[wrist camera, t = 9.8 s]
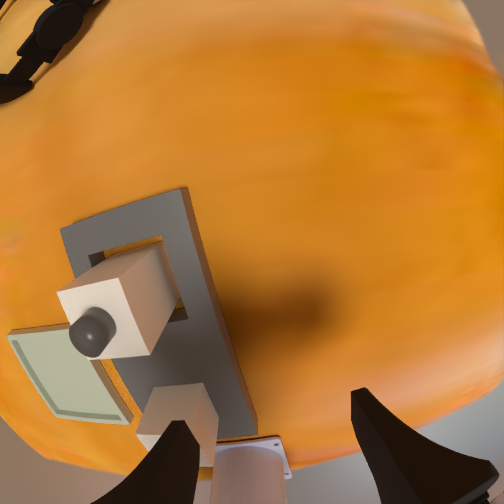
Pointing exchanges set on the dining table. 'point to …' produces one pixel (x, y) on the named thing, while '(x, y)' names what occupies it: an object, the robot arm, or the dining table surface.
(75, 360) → the tray
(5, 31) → the dining table surface
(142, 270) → the plug
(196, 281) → the power strip
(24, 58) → the headphones
